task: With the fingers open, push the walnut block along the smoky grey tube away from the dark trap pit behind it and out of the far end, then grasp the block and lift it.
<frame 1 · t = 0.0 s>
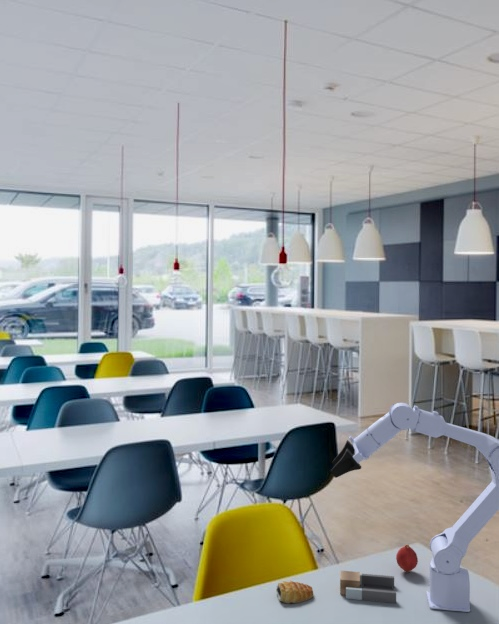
hand: (333, 469, 150), 32 cm above the table, tool tilted 50°, fingers open, 7 cm apart
onion: (406, 572, 162), on the table
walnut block: (350, 590, 152), on the table
pastry: (292, 598, 149), on the table
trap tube: (371, 591, 151), on the table
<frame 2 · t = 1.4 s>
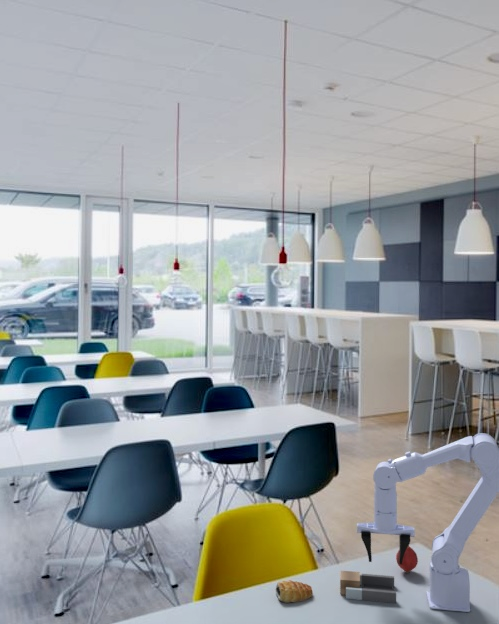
hand: (385, 561, 150), 8 cm above the table, tool pointing down, fingers open, 7 cm apart
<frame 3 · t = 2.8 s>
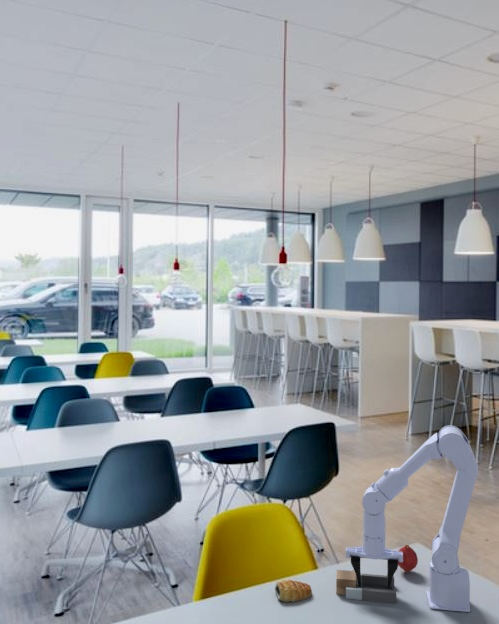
hand: (373, 586, 151), 2 cm above the table, tool pointing down, fingers open, 7 cm apart
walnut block: (346, 589, 152), on the table, touching gripper
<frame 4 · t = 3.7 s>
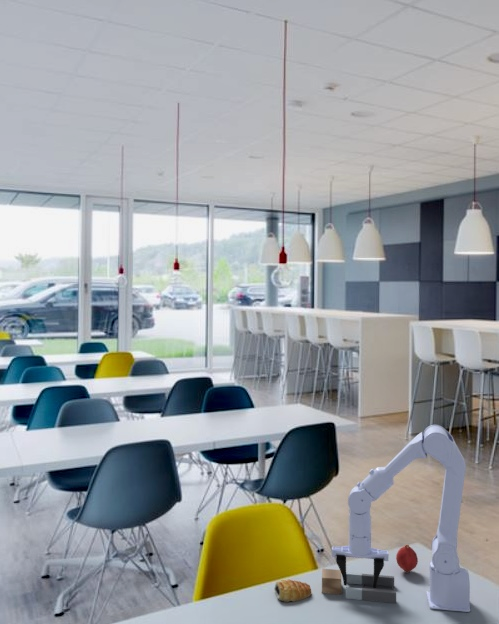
hand: (359, 584, 152), 2 cm above the table, tool pointing down, fingers open, 7 cm apart
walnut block: (331, 588, 153), on the table, touching gripper
everything else where it was.
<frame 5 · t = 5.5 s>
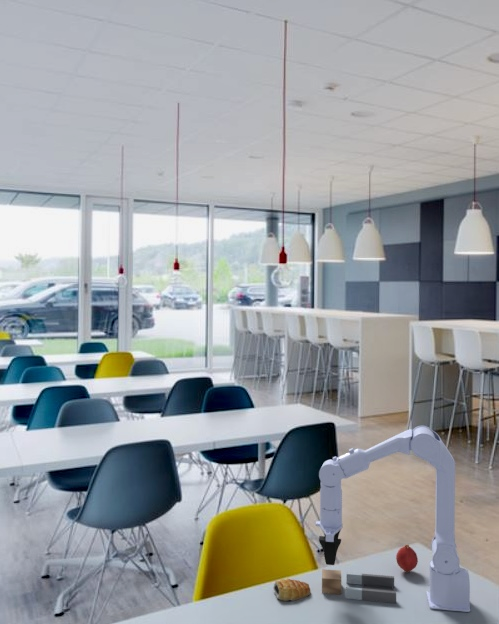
hand: (330, 557, 153), 8 cm above the table, tool pointing down, fingers open, 7 cm apart
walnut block: (331, 589, 153), on the table
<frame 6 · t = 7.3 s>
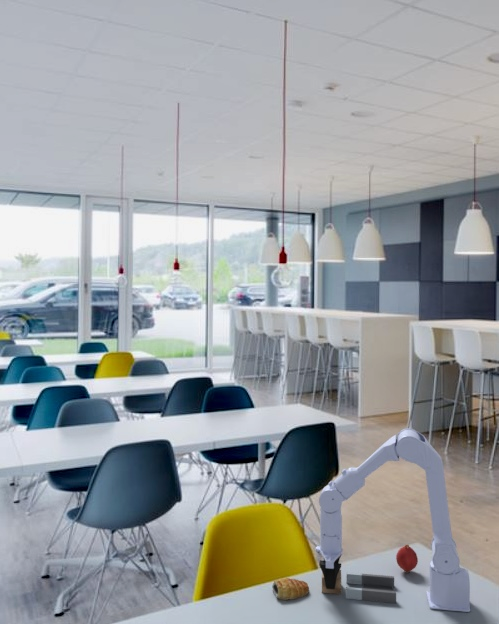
hand: (330, 583, 153), 1 cm above the table, tool pointing down, fingers closed on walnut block, 5 cm apart
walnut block: (331, 588, 153), on the table, touching gripper
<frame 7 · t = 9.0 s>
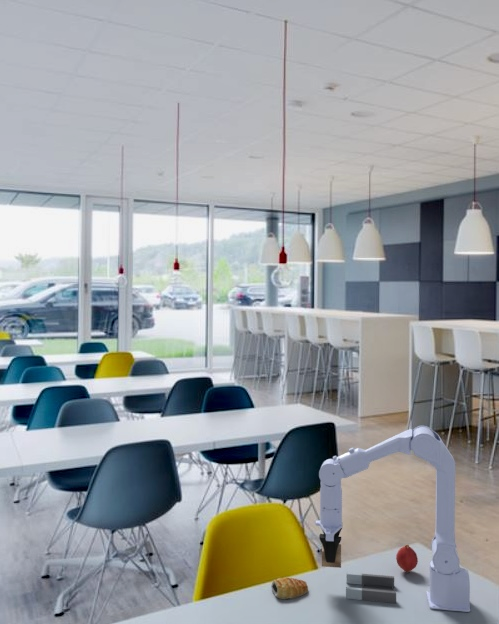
hand: (331, 557, 153), 8 cm above the table, tool pointing down, fingers closed on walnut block, 5 cm apart
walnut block: (331, 562, 153), point 7 cm above the table, touching gripper
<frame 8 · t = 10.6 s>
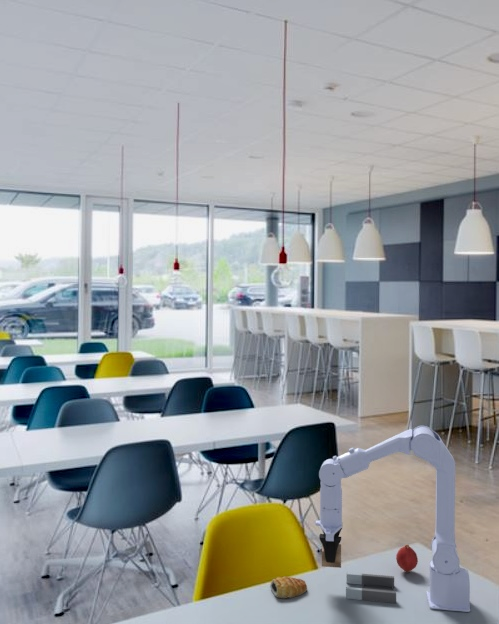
hand: (331, 557, 153), 8 cm above the table, tool pointing down, fingers closed on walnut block, 5 cm apart
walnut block: (331, 562, 153), point 7 cm above the table, touching gripper
at the end: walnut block point 6.9 cm above the table; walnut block inside the target area (0.4 cm from its centre), point 6.9 cm above the table; the gripper is holding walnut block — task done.
